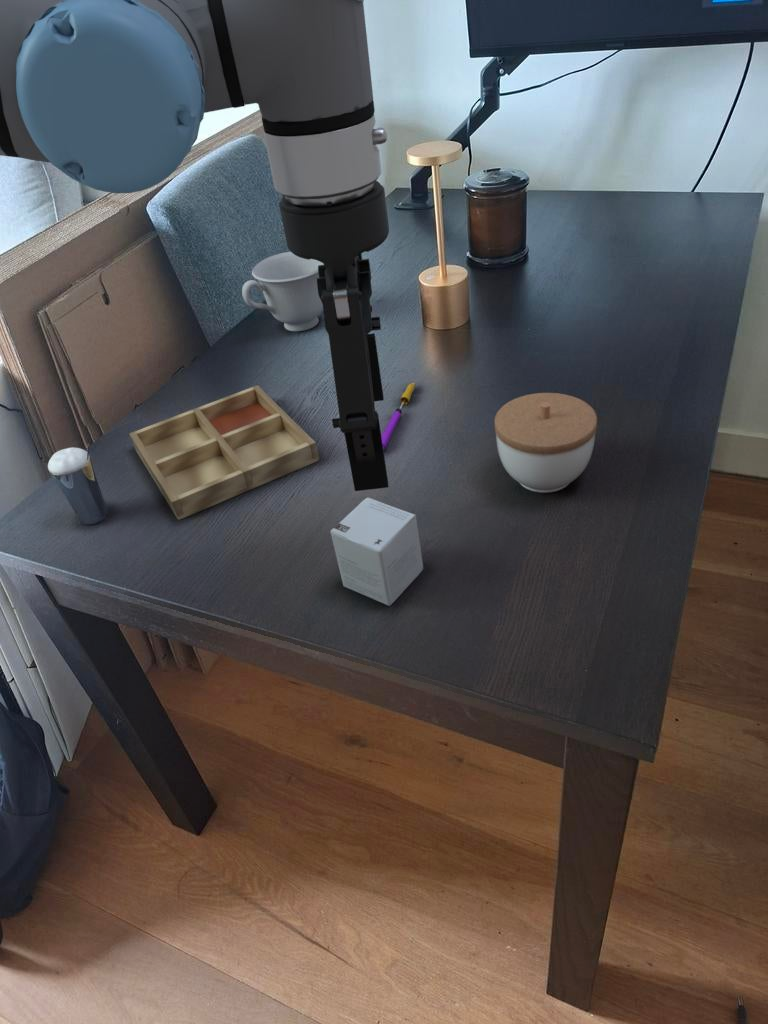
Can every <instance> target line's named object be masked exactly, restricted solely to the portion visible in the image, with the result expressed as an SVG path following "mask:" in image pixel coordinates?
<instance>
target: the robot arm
mask: <svg viewBox="0 0 768 1024" xmlns="http://www.w3.org/2000/svg"><path fill="white" fill-rule="evenodd" d="M364 2H365V0H0V156H3V157H11V158H19V159H24V160H30V161H36V162H43V163H48V164H49V163H50V164H51V165H53V166H54V167H55V168H56V169H58V170H59V171H60V172H62V173H64V174H65V175H66V176H67V177H69V178H71V179H72V180H74V181H76V182H78V183H80V184H82V185H83V186H86V187H88V188H92V189H94V190H95V191H101V192H105V193H112V194H131V193H132V194H133V193H137V192H142V191H144V190H148V189H151V188H152V187H155V186H156V185H158V184H159V185H160V183H162V182H164V180H166V179H168V178H169V177H170V176H171V175H172V174H173V173H174V172H175V171H176V170H177V169H178V168H179V167H180V166H181V164H182V163H183V161H184V160H185V158H186V157H187V156H188V154H189V153H190V152H191V151H192V147H193V145H194V144H195V143H196V141H197V140H198V136H199V132H200V127H201V123H202V121H203V120H204V117H205V114H206V113H210V112H211V113H212V112H216V111H221V110H227V109H232V108H233V109H236V108H237V109H238V108H242V107H246V106H247V105H253V104H257V106H258V108H259V111H260V114H261V122H262V128H263V129H262V133H263V137H264V143H265V147H266V152H267V157H268V163H269V168H270V173H271V177H272V182H273V187H274V190H275V192H276V193H278V194H279V195H281V196H282V197H281V200H280V202H279V203H278V207H279V212H280V218H281V222H282V227H283V232H284V237H285V242H286V246H287V248H288V250H289V252H292V253H293V254H294V255H296V256H298V257H300V258H304V259H308V260H310V259H314V260H317V261H320V262H322V263H323V264H324V265H318V273H319V278H317V288H318V295H319V297H320V300H321V301H322V304H323V311H322V313H323V320H324V328H325V331H326V333H327V334H328V341H329V350H330V356H331V364H332V372H333V379H334V386H335V393H336V394H335V395H336V402H337V409H338V415H339V417H336V418H331V423H332V427H333V429H340V432H341V433H342V434H344V440H345V444H346V450H347V455H348V460H349V467H350V471H351V478H352V483H353V488H354V492H361V491H370V490H379V489H388V488H389V479H388V471H387V465H386V459H385V458H386V457H385V450H383V444H382V437H381V434H382V431H381V425H380V418H379V413H378V411H377V410H376V405H375V402H380V401H381V402H382V401H384V390H383V384H382V378H381V370H380V369H381V368H380V363H379V362H380V361H379V356H378V355H379V354H378V348H377V341H376V334H375V333H371V332H373V331H374V332H375V331H381V330H382V325H381V318H380V316H373V317H372V312H373V306H372V305H371V297H372V294H373V289H372V271H371V263H370V258H364V259H363V253H366V252H367V253H369V252H371V251H373V250H375V249H376V248H378V247H380V246H381V245H382V244H383V243H384V242H385V241H386V240H387V238H388V236H389V233H390V225H389V217H388V208H387V207H388V206H387V199H386V192H385V191H386V190H385V187H384V186H383V185H382V184H381V182H380V181H378V179H379V177H380V176H381V175H382V164H381V156H380V149H379V148H378V146H379V145H382V144H385V143H386V142H387V140H388V133H387V131H386V129H385V127H377V128H375V125H376V115H375V112H376V111H375V102H374V92H373V91H374V90H373V82H372V73H371V65H370V63H371V62H370V54H369V44H368V34H367V27H366V25H367V24H366V17H365V16H366V15H365V6H364V5H365V4H364Z"/></svg>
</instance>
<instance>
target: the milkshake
mask: <svg viewBox="0 0 768 1024" xmlns="http://www.w3.org/2000/svg"><path fill="white" fill-rule="evenodd" d="M47 469H48V471H49V473H50V475H51V476H52V478H53V479H54V481H55V482H56V484H57V486H58V487H59V488H60V490H61V492H62V494H63V495H64V497H65V498H66V500H67V502H68V503H69V505H70V507H71V509H72V510H73V512H74V513H75V515H76V516H77V517H76V518H77V519H78V520H79V522H80V523H82V524H83V525H86V526H89V525H91V526H92V525H95V524H98V523H100V522H103V520H104V519H106V518H107V516H108V508H107V504H106V502H105V498H104V496H103V494H102V493H103V492H102V490H101V487H100V485H99V482H98V478H97V476H96V473H95V470H94V466H93V463H92V460H91V457H90V443H88V444H87V449H86V450H85V449H83V448H81V447H73V446H71V447H66V448H63V449H60V450H58V451H56V452H54V454H53V455H52V456H51V457H50V459H49V461H48V463H47Z"/></svg>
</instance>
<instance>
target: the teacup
mask: <svg viewBox="0 0 768 1024" xmlns="http://www.w3.org/2000/svg"><path fill="white" fill-rule="evenodd" d="M318 265H324V264H323V263H322V262H320V261H317V260H314V259H310V260H308V259H304V258H300V257H298V256H296V255H294V254H293V253H292V252H291V251H286V252H280V253H278V254H274V255H271V256H268V257H266V258H264V259H263V260H261V261H259V262H257V264H255V265H254V267H253V268H252V270H251V275H252V277H253V278H255V279H256V280H257V281H256V280H254V279H250V280H247V281H246V282H244V283H243V285H242V288H241V295H242V299H243V301H244V303H245V304H246V305H247V306H249V307H250V308H252V309H256V310H266V311H269V313H271V315H272V316H273V318H274V319H276V320H277V321H278V322H281V323H284V324H283V327H284V328H285V330H286V331H290V332H303V331H307V330H310V329H313V328H314V327H316V326H317V325H318V324H319V321H320V319H319V316H320V315H321V314H322V313H323V304H322V301H321V300H320V297H319V295H318V288H317V278H319V273H318ZM252 288H255V290H256V291H257V293H260V294H261V293H262V294H263V296H264V299H265V302H266V303H262V302H255V301H253V300H252V299H251V297H250V291H251V289H252Z"/></svg>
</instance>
